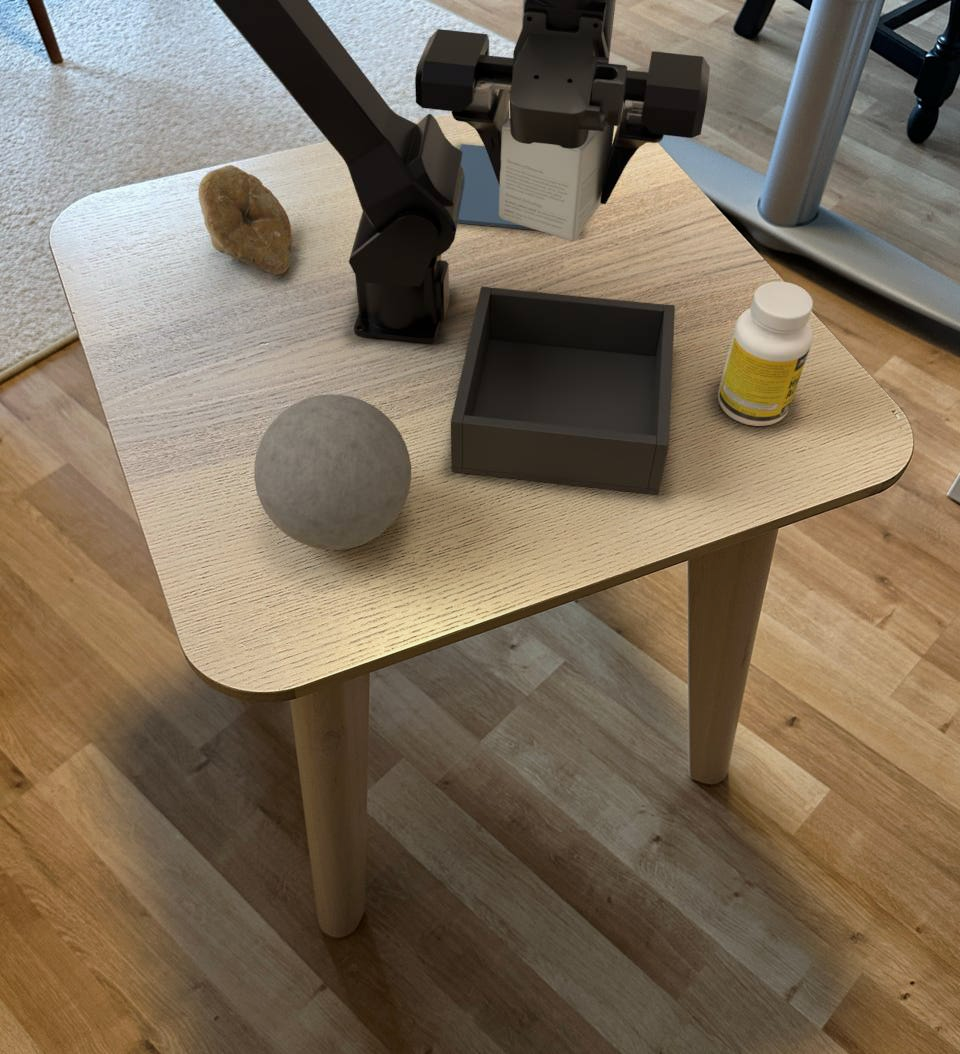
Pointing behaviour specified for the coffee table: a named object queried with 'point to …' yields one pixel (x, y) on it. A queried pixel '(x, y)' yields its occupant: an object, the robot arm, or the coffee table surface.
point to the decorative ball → (332, 472)
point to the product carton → (552, 182)
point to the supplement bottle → (767, 355)
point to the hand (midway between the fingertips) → (553, 195)
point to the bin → (565, 391)
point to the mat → (480, 190)
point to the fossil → (245, 219)
